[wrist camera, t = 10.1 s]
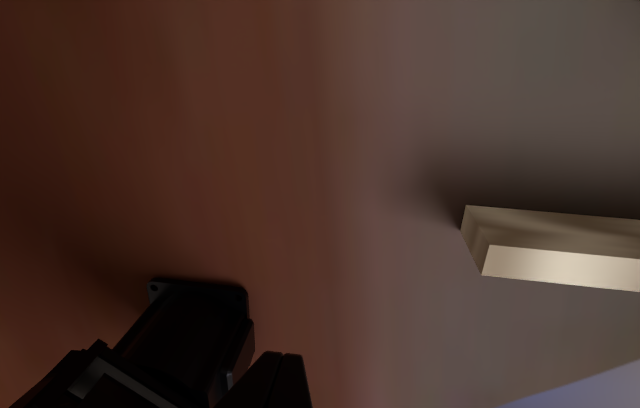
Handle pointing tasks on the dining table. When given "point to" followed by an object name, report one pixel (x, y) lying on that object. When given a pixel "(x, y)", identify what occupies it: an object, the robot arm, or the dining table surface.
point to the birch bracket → (554, 247)
